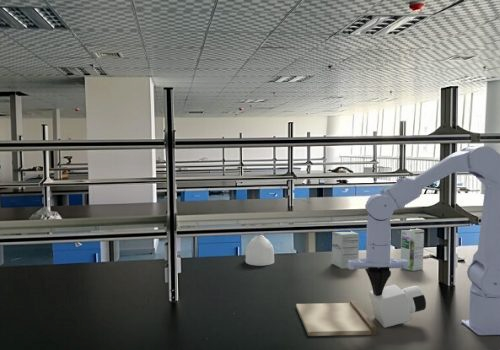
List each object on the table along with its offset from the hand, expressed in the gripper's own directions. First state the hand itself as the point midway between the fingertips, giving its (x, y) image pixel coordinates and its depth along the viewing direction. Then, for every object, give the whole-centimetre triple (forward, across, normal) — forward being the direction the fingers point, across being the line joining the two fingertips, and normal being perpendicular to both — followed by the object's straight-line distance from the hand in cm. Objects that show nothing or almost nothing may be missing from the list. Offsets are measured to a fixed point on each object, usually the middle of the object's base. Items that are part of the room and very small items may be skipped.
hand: (377, 297), depth 109 cm
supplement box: (+7, -6, -52) cm, 53 cm away
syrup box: (+7, -29, -47) cm, 56 cm away
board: (+6, +10, -2) cm, 12 cm away
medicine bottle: (+3, 0, 0) cm, 3 cm away
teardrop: (+7, +25, -59) cm, 64 cm away
